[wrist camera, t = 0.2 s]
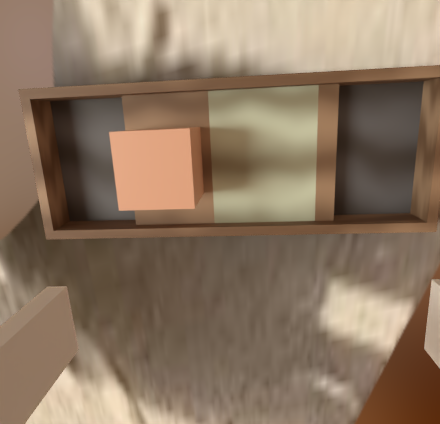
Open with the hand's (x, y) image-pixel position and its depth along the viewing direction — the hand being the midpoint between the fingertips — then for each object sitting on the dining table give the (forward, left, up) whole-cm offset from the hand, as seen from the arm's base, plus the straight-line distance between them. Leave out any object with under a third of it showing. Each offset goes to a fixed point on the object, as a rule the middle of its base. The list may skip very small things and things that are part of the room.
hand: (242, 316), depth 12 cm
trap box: (-3, -1, -28) cm, 28 cm away
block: (-3, -8, -25) cm, 27 cm away
